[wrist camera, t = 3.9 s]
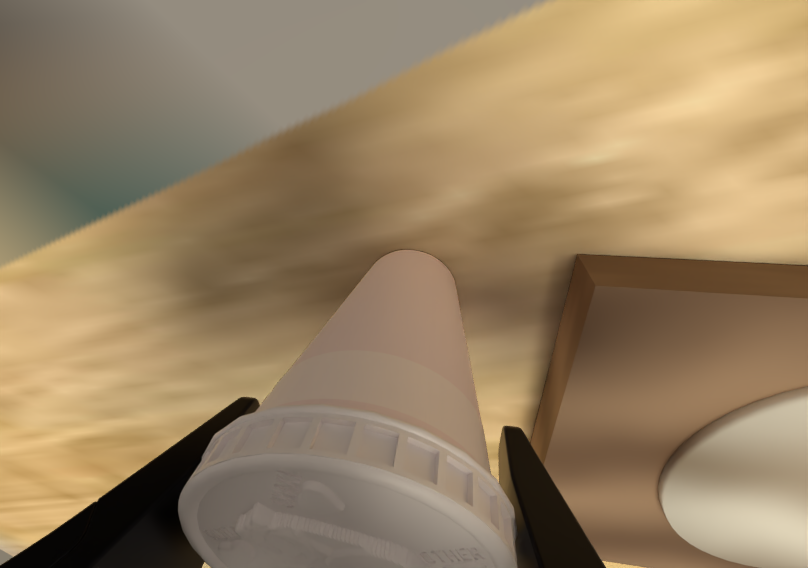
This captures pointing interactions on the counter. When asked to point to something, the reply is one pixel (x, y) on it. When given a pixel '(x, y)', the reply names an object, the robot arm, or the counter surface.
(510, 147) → the counter surface
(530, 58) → the counter surface
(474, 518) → the smoothie
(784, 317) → the walnut base
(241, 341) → the counter surface
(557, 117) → the counter surface
